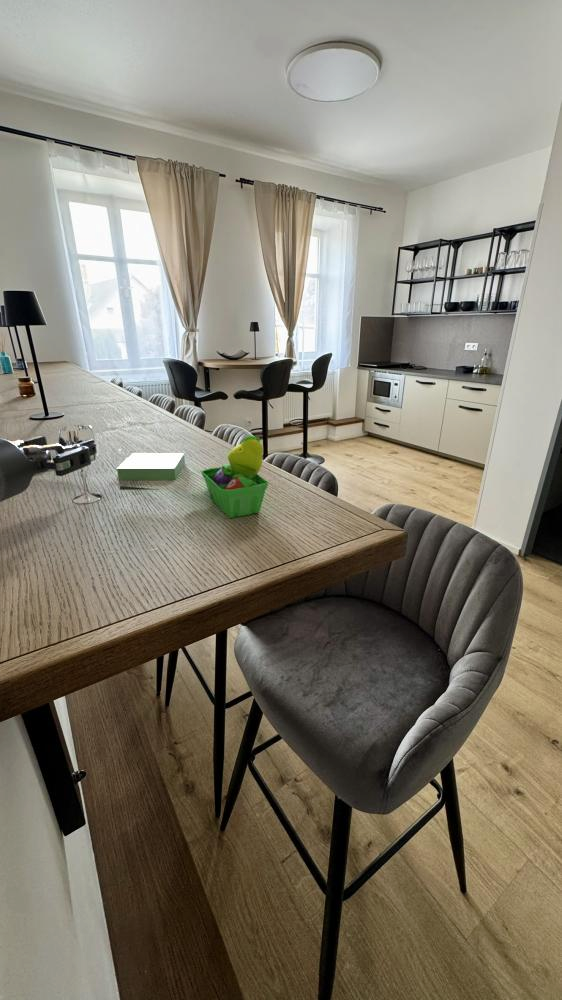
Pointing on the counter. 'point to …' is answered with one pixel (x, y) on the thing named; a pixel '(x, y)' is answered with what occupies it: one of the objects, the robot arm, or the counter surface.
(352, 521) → the counter surface
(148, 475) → the green block
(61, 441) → the wineglass
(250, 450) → the fruit basket
